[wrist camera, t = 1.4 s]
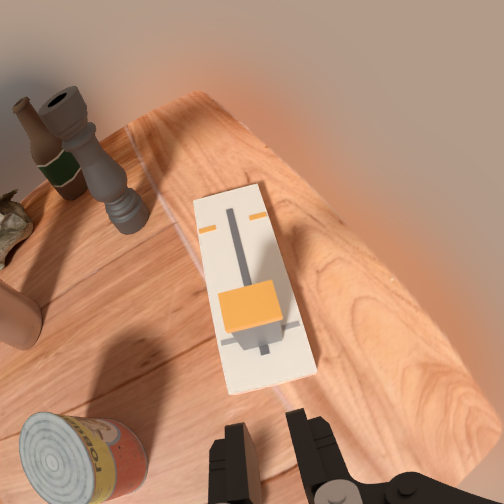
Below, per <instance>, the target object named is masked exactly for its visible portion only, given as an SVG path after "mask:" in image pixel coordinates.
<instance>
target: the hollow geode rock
mask: <svg viewBox="0 0 504 504" xmlns="http://www.w3.org/2000/svg"><path fill="white" fill-rule="evenodd" d="M17 190H18V189H15V190H13V191H12V192H10V193H8V194H5V195H3V196H1V197H0V270H1V269H2V268H3V267H4V261H5V257H6V255H7V254H8V252H9V251H10V250H11V249H12V248H13V247H14V246H15V245H16V244H17V243H19V242H20V241H22V240H24V239H26V238H28V237H29V236H30V234H31V233H32V230H33V223H32V221H31V219H30V218H29V216H28V215H27V214H26V213H25V212H24V208H23V206H22V205H21V204H20V203H17V202H13V201H10V200H11V198H12V197H13V195H14V194H16V193H17Z"/></svg>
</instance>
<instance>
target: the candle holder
mask: <svg viewBox="0 0 504 504" xmlns="http://www.w3.org/2000/svg"><path fill="white" fill-rule="evenodd" d="M86 110H87V105H86V104H85V102H84V100H83V98H82V96H81V94H80V92H79V90H78V88H77V87H76V86H72V87H68V88H66V89H64V90H62V91H61V92H59V93H57V94H56V95H54V96H53V97H52V98H50V99H49V100H48V101H47V102H46V103H45V104H44V105H43V106H42V107H41V109H40V110H39V113H38V114H39V116H40V118H41V119H42V121H43V122H44V124H45V126H46V127H47V129H48V130H49V132H50V133H51V134H54V135H55V137H58V138H60V139H61V140H63V141H62V148H63V149H64V151H65V152H70V153H72V154H73V156H74V157H75V159H76V160H77V162H78V163H79V165H80V166H81V169H82V172H83V175H84V178H85V180H86V183H87V186H88V189H89V191H90V194H91V195H92V196H93V197H94V199H96V200H97V201H100V202H104V203H105V204H106V205H105V208H106V212H107V214H108V215H109V219H110V220H111V221H112V223H113V224H114V225H115V226H116V228H117V229H118V230H119V231H120V232H121V233H123V234H126V235H128V234H133V233H135V232H137V231H139V230H140V229H141V228H143V227H144V226H145V224H146V222H147V221H148V218H149V211H148V208H147V207H146V205H145V203H144V202H143V200H142V199H141V197H140V196H139V195H138V194H137V193H136V192H135V191H134V190H133V189H132V188H128V187H127V176H126V172H125V170H124V169H123V168H122V167H121V166H120V165H118V164H117V163H116V162H115V161H114V160H113V159H112V158H111V157H110V156H109V155H108V154H107V153H106V152H105V151H104V150H103V149H102V147H101V145H100V144H99V142H98V140H97V138H96V137H95V132H96V126H95V124H93V123H92V122H87V111H86Z"/></svg>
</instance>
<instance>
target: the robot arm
mask: <svg viewBox="0 0 504 504" xmlns="http://www.w3.org/2000/svg"><path fill="white" fill-rule="evenodd" d="M41 326H42V314H41V310H40V308H39V306H38V305H37V304H36V303H35V302H34V301H32V300H30V299H29V298H27V297H26V296H24V295H23V294H21V293H20V292H18V291H17V290H15V289H14V288H12V287H11V286H9V285H8V284H6V283H5V282H3V281H2V280H1V279H0V341H1V342H3V343H5V344H8V345H10V346H12V347H15V348H17V349H19V350H27V349H29V348H30V347H31V346H33V345H34V343H35V342H36V340H37V338H38V336H39V333H40V330H41ZM285 414H286V418H287V422H288V426H289V430H290V435H291V439H292V442H293V446H294V450H295V454H296V458H297V462H298V466H299V470H300V474H301V478H302V482H303V486H304V490H305V493H306V496H307V499H308V502H309V504H502V503H498V502H495V501H492V500H489V499H485V498H482V497H479V496H476V495H473V494H471V493H468V492H465V491H462V490H459V489H457V488H454V487H452V486H449V485H446V484H444V483H441V482H439V481H437V480H434V479H432V478H429V477H427V476H425V475H422V474H420V473H417V472H405V473H401V474H399V475H397V476H395V477H394V478H393V479H392V480H391V481H390V482H385V483H377V484H364V483H360V482H358V481H356V480H354V479H353V478H352V477H351V476H350V474H349V472H348V469H347V467H346V464H345V462H344V459H343V457H342V454H341V452H340V449H339V447H338V444H337V442H336V439H335V437H334V435H333V432H332V429H331V427H330V424H329V423H328V422H327V421H325V420H324V419H323V418H322V417H321V416H319V417H316V418H313V419H309V420H307V417H306V414H305V411H304V408H301V409H297V410H293V411H290V412H286V413H285ZM209 462H210V463H209V488H208V504H263V497H262V490H261V482H260V474H259V466H258V459H257V453H256V449H255V446H254V443H253V441H252V438H251V436H250V434H249V432H248V429H247V427H246V425H245V423H244V422H242V423H237V424H231V425H226V426H225V439H219V440H215V441H214V443H213V445H212V447H211V449H210V450H209Z"/></svg>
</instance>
